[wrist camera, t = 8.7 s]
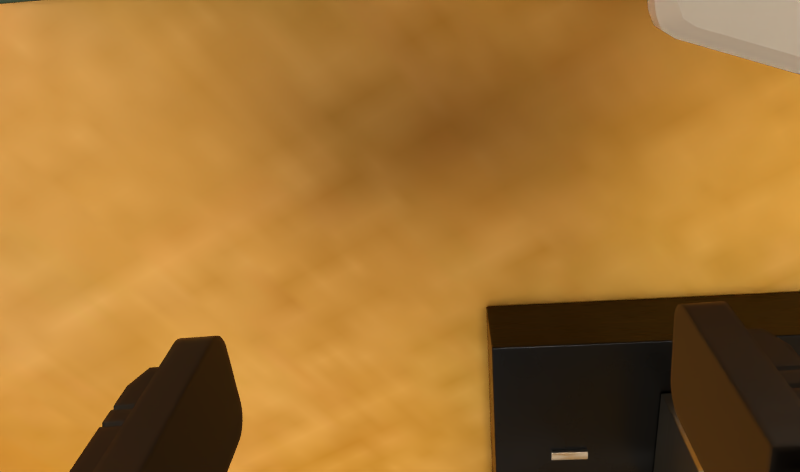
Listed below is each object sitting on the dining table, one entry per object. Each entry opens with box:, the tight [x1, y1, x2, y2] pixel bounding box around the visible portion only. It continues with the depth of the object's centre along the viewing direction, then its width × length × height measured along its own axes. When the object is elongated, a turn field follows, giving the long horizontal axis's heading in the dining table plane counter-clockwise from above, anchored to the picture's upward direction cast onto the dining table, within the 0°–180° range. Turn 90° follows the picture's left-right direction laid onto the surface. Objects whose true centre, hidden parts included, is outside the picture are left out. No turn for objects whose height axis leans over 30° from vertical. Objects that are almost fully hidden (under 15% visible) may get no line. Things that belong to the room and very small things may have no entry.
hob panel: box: [486, 292, 800, 472], centre depth 28 cm, size 14×10×3 cm
